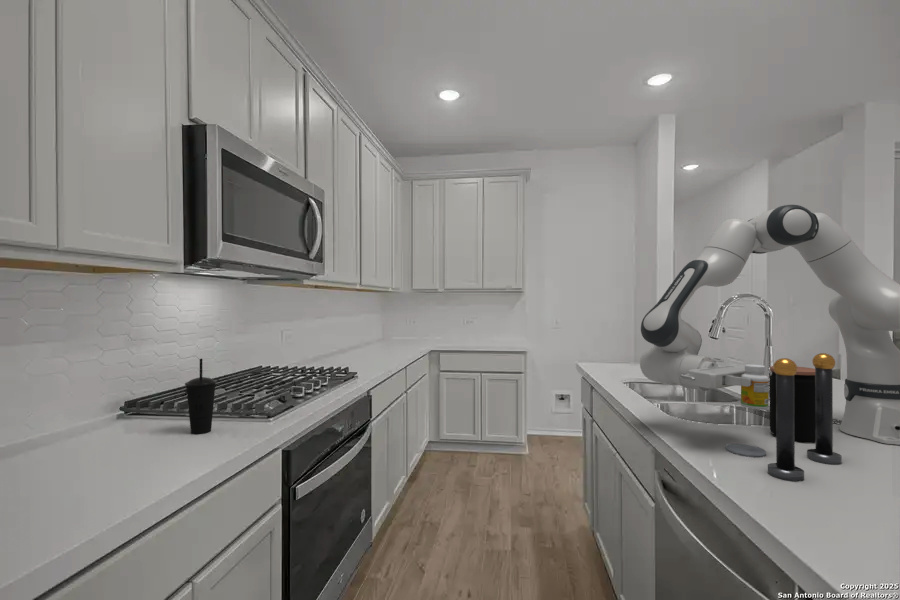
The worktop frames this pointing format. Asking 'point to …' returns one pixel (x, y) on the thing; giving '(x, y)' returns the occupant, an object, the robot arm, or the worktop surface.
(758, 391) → the supplement bottle
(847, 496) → the worktop surface
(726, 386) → the robot arm
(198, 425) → the drinking cup
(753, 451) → the slate mat
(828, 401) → the post
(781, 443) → the post
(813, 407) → the coffee jar
